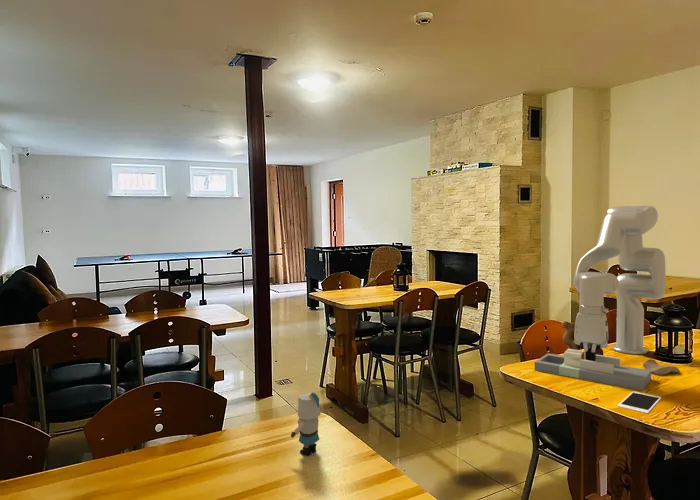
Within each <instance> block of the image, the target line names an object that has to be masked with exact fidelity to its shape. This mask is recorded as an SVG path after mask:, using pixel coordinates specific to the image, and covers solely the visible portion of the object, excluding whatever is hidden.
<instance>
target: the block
mask: <svg viewBox="0 0 700 500" xmlns="http://www.w3.org/2000/svg"><path fill="white" fill-rule="evenodd" d="M563 356H564V365H569V366H575V367H580V363H581V359H584V360H585V351H584V350H574V349H568V348H567V349H566V350H565V351H564V352H563Z"/></svg>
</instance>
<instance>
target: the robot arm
mask: <svg viewBox="0 0 700 500" xmlns="http://www.w3.org/2000/svg"><path fill="white" fill-rule="evenodd" d="M605 214H606V215H605V216H604V218H603V221H602V223H601V227H600V230H599V234H598V238H597V242H596V245H595V247H593V248H591V249H590V250H589V251H587V252H586V253H585V254H584V255H583V256H582V257H581V258H580V259H579V261H578V263H577V266H576V269H575V272H574V276H573V286H574V288H575V290H577V291H578V292H579V300H578V301H579V306H578V307H579V309H578V312H577V314H576V317H575V330H574V338H575V340H574V343H575V344H578V345H580V346H581V347H582V348H581V349H583V351H585V360H590V361H595V360H596V351H597V350H598V349H600V348H602V349H607V348H608V347H609V344H608V341H609V326H608V325H609V324H608V317H607V315H606V313H609V308H606V307H605V306H604V299H605V297H604V295H612V294H614V293H615V296H616V340H615V341H616V343H614V344H613V345H612V346H611V349H612V350H613V351H616V352H619V353H622V354H629V355H645V354H647V353H648V352H649V351H648V348H647V347H645V346H644V326H645V325H644V323H645V322H644V321H645V319H644V318H645V308H644V305H643V304H642V303H641V301H640V299H649V300H660V299H662V298H664V296H665V293H666V288H667V287H666V286H667V285H666V283H667V281H666V280H667V279H666V278H667V276H666V274H667V273H666V257H665V253H664V251H663V250H662V249H661V248H658V247H644V245H643V244H644V243H643V235H644V234H646V233H648V232H649V231H650V230H652V229H654V227H655V226H656V225H657V222H658V219H659V215H658V214H659V213H658V211H657V208H656V207H654V206H651V205H624V206H623V205H622V206H613V207H610V208H608V209H607V211H606V213H605ZM615 257H618V265H619V267H620V269H621V270H624V271H629V272H628V273H622V274H619V275H617V276H616V275H615V274H613V273H610V272H599V271H598V272H597V271H589V270H590V269H591V267H593V266H594V265H596V264H598V263H600V262H603V261H606V260H609V259H613V258H615ZM630 271H631V272H644V273H645V272H648V273H649V274H643V273H642V274H641V273H630ZM589 343H592V350H590V346H589ZM598 344H599V345H598Z"/></svg>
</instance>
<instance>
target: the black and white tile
mask: <svg viewBox="0 0 700 500" xmlns="http://www.w3.org/2000/svg"><path fill="white" fill-rule="evenodd" d="M660 400H662V396H658V395H654V394H648V393H643V392H639V391H633V390H632V391H631V392H630V393H629V394H628V395H627V396H626V397H625V398H623V399H622V401H620V402H619V403H618V404H617V405H616V406H617V407H619V408H621V409H622V408H623V409H626V410H629V411H630V410H631V411H634V412H638V413H643V414H649V413H650V412H651V411H652V410H653V408H654V407H655V406H656V405H657V404H658V403H659V402H661V401H660Z"/></svg>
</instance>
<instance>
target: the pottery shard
mask: <svg viewBox="0 0 700 500" xmlns="http://www.w3.org/2000/svg"><path fill="white" fill-rule="evenodd" d="M642 366H643V368H644V369H646V370H651V375H656V376H662V375H663V376H664V375H666V374H669V373H672V374H678V373H681V371H680V369H679V368H678V367H676V366H672V365H671V366H670V365H667V366H664V365H661V364H659V363H658V362H657V361H656V360H655V359H653V358H652V359H651V358H648V359H647V360H645V361H644V362H643V363H642Z"/></svg>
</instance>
